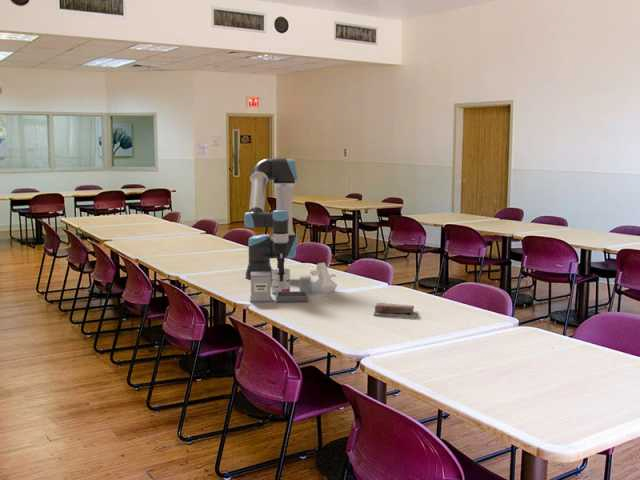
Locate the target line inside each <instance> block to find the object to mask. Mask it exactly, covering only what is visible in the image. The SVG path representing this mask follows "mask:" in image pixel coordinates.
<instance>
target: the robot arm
mask: <svg viewBox="0 0 640 480" xmlns="http://www.w3.org/2000/svg"><path fill="white" fill-rule="evenodd" d="M249 179H250V182H251V186H250V197H249V206H248V207H249V208H248V212H245V213H244V217H243V223H244V226H245V228H250V229H251V228H253V229H254V228H272V235H271V236H270V234H268V233H267V234H265V233H263V234H258V235H253V236H250V237H249V238H248V265H247V268H246V272H245V278H246V279H248V280H251V272H270V273H271V279H272V269H273V268H272V266H271V259H276V261H277V264H276V265H277V269H279V273H277V275H279V288H284V273H285V272H284V269H285V259H286V260H287V259H293V258H294V259H295V256H296V253H297V246H298V239H299V238H298V237H297V236H296V233H295V232H294V231H293V187H294V185H296V181H298V172H297V164H296V160H295V159H293V158H264V159H262V160H261V159H260V161H258V162H257V163H255V165H254V166H253V168H252V169H251V172H250V175H249ZM268 181H273V185H274V186H275V188H276V189H275V190H276V191H275V192H276V196H275V197H276V198H275V200H276V202H275V203H276V206H275V207H276V208H275V210H273V211H272V212H270V211H269V212H267V211H266V212H265V205H266V204H265V201H266V187H267V183H268Z"/></svg>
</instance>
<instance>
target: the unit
mask: <svg viewBox="0 0 640 480" xmlns="http://www.w3.org/2000/svg"><path fill="white" fill-rule="evenodd" d="M250 302H261V303H272V302H273V300H272V278H271V273H270V272H251V279H250V296H249V303H250Z"/></svg>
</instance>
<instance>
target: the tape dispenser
mask: <svg viewBox="0 0 640 480" xmlns="http://www.w3.org/2000/svg"><path fill="white" fill-rule="evenodd" d="M329 273H330V272H329V269H328V268H327V265H326V262H319V263H317V265H316V270H315V269H313V270H310V274H311V276H313V277H314V276H317V277H318V279H317V280H316V281H315V282H313V283H311V292H313V293H318V294H319V293H320V294H325V293H332V292H335V291H336V288H337V287H338V283H336V282H335V281H334V280H333V279H332V278H336V277H337V274H335V273H331V274H329Z"/></svg>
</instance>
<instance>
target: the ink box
mask: <svg viewBox="0 0 640 480" xmlns="http://www.w3.org/2000/svg"><path fill="white" fill-rule="evenodd" d="M284 272H285V273H284V288H279V275H277V273H279V269H278V268H275V267H274V268H272V278H271V294H272V293H276V292H291V290H290V289H291V269H290V268H284Z"/></svg>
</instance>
